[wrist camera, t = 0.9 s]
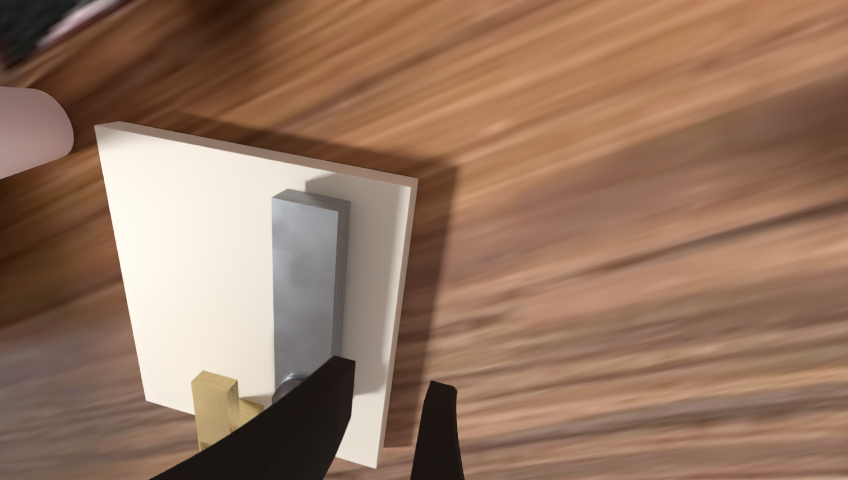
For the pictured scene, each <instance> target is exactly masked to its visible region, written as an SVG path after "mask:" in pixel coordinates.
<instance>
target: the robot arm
mask: <svg viewBox="0 0 848 480" xmlns="http://www.w3.org/2000/svg"><path fill="white" fill-rule="evenodd" d="M355 366H356V361H355V360H351V359H347V358H343V357H339V356H335V355H334V356H332V357H331V358H329V359H328V360H327V361H326V362H325V363H324V364H322V365H321V366H320V367H319V368H318V369H316V370H315V371H314V372H313V373H312V374H310V375H309V376H308V377H307V378H306V379H304V380H303V381H302V382H301V383H299V384H298V385H297V386H296V387H294V388H293V389H292V390H290V391H289V392H288V393H287V394H285V395H284V396H283V397H281V398H280V399H279V400H277V401H276V402H275V403H273V404H272V405H271V406H269V407H268V408H267V409H265V410H264V411H262V412H261V413H260V414H258V415H257V416H255V417H254V418H252V419H251V420H249V421H248V422H247V423H245V424H244V425H242V426H241V427H239V428H238V429H236V430H235V431H233V432H232V433H230V434H229V435H227V436H225V437H224V438H222V439H221V440H219V441H217V442H216V443H214V444H213V445H211V446H209V447H208V448H206V449H204V450H202V451H201V452H199V453H197V454H196V455H194V456H192V457H190V458H189V459H187V460H185V461H183V462H181V463H179V464H177V465H176V466H174V467H172V468H170V469H168V470H166V471H165V472H163V473H161V474H159V475H157V476H155V477H153V478H151V479H149V480H323V478H324V476H325V475H326V473H327V471H328V469H329V467H330V465H331V463H332V461H333V459H334V457H335V456H336V454H337V451H338V449H339V446H340V444H341V441H342V439H343V437H344V434H345V432H346V429H347V426H348V424H349V421H350V419H351V414H352V402H353V390H354V378H355ZM456 398H457V390H456V389H455V387H454V386H450V385H446V384H443V383H439V382H435V381H431V382H430V385H429V388H428V390H427V394H426V397H425V400H424V404H423V409H422V415H421V421H420V426H419V432H418V438H417V443H416V449H415V455H414V460H413V466H412V472H411V477H410V480H465V479H464V473H463V468H462V461H461V455H460V448H459V441H458V432H457V419H456Z"/></svg>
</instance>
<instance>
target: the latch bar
mask: <svg viewBox="0 0 848 480" xmlns="http://www.w3.org/2000/svg"><path fill="white" fill-rule="evenodd" d="M350 206H351V201H347V200H342V199H337V198H332V197H328V196H323V195H318V194H313V193H308V192H303V191H298V190H293V189H286V190H284V191H282V192H280V193H279V194H277V195H275V196H273V197H271V210H272V261H273V313H274V364H275V392H274V394H273V396H272V404H273V403H275V402H276V401H277V400H279V399H280V398H281V397H283V396H284V395H285V394H287V393H288V392H289V391H290V390H292V389H293V388H294V387H296V386H297V385H298V384H299V383H301V382H302V381H303V380H304V379H306V378H307V377H308V376H309V375H310V374H312V373H313V372H314V371H315V370H316V369H318V368H319V367H320V366H321V365H322V364H324V363H325V362H326V361H327V360H328V359H329V358H331V357H332V356H334V355H335V356H339V357H341V348H342V333H343V317H344V301H345V285H346V269H347V254H348V238H349V222H350Z"/></svg>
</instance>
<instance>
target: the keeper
mask: <svg viewBox="0 0 848 480" xmlns="http://www.w3.org/2000/svg"><path fill="white" fill-rule="evenodd" d="M191 387H192V395H193V403H194V411H195V419H196V427H197V434H198V442H199V450H200V452H201V451H202V450H204V449H206V448H208V447H209V446H211V445H213V444H214V443H216V442H217V441H219V440H221V439H222V438H224V437H225V436H227V435H229V434H230V433H232V432H233V431H235V430H236V429H238V428H239V427H241V426H242V425H244V424H245V423H247V422H248V421H249V420H251V419H252V418H254V417H255V416H257V415H258V414H260V413H261V412H262V411H264V405H261V404H257V403H254V402H250V401H247V400H243V399H240V398H239V392H238V380H236V379H233V378H229V377H226V376H222V375H218V374H215V373H211V372H208V371H204V370H203V371H202V372H201V373H200V374H199V375H198V376H197V377H195V378H194V379H193V380H192V381H191Z"/></svg>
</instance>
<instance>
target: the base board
mask: <svg viewBox="0 0 848 480" xmlns="http://www.w3.org/2000/svg"><path fill="white" fill-rule="evenodd" d="M94 128H95V133H96V139H97V144H98V149H99V154H100V160H101V165H102V170H103V176H104V181H105V186H106V191H107V197H108V202H109V207H110V213H111V218H112V223H113V228H114V234H115V239H116V244H117V249H118V255H119V260H120V265H121V271H122V276H123V281H124V286H125V292H126V297H127V302H128V308H129V313H130V318H131V323H132V329H133V334H134V339H135V344H136V350H137V355H138V360H139V366H140V371H141V376H142V381H143V387H144V392H145V397H146V401H150V402H153V403H157V404H160V405H163V406H167V407H170V408H173V409H177V410H180V411H183V412H187V413H190V414H194V415H195V411H194V403H193V395H192V387H191V381H192V380H193V379H194V378H195V377H197V376H198V375H199V374H200V373H201V372H202V371H203V370H204V371H208V372H211V373H215V374H218V375H222V376H226V377H229V378H233V379H236V380H238V392H239V398H240V399H243V400H247V401H250V402H254V403H257V404H261V405H264V410H265V409H267V408H268V407H269V406H271V405H272V396H273V394H274V392H275V364H274V313H273V261H272V210H271V197H273V196H275V195H277V194H279V193H280V192H282V191H284V190H286V189H293V190H298V191H303V192H308V193H313V194H318V195H323V196H328V197H332V198H337V199H342V200H347V201H351V206H350V222H349V238H348V254H347V269H346V285H345V301H344V317H343V333H342V348H341V357H343V358H347V359H351V360H355V361H356V366H355V378H354V390H353V402H352V414H351V419H350V421H349V424H348V426H347V429H346V432H345V434H344V437H343V439H342V441H341V444H340V446H339V449H338V451H337V454H336V456H335V457H338V458H342V459H345V460H348V461H352V462H355V463H358V464H362V465H365V466H368V467H372V468H375V469H376V467H377V465H378V462H379V459H380V456H381V453H382V451H383V447H384V440H385V432H386V424H387V417H388V409H389V402H390V394H391V386H392V379H393V371H394V363H395V356H396V348H397V341H398V333H399V325H400V318H401V310H402V302H403V295H404V287H405V280H406V272H407V264H408V257H409V249H410V241H411V234H412V226H413V219H414V211H415V203H416V196H417V188H418V181H419V179H418V178H413V177H408V176H403V175H398V174H392V173H387V172H382V171H377V170H372V169H366V168H361V167H356V166H351V165H346V164H340V163H335V162H330V161H325V160H320V159H314V158H309V157H304V156H299V155H294V154H288V153H283V152H278V151H273V150H268V149H262V148H257V147H252V146H247V145H242V144H236V143H231V142H226V141H221V140H216V139H210V138H205V137H200V136H195V135H190V134H184V133H179V132H174V131H169V130H164V129H158V128H153V127H148V126H143V125H137V124H132V123H127V122H122V121H119V122H112V123H105V124H99V125H94Z"/></svg>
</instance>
